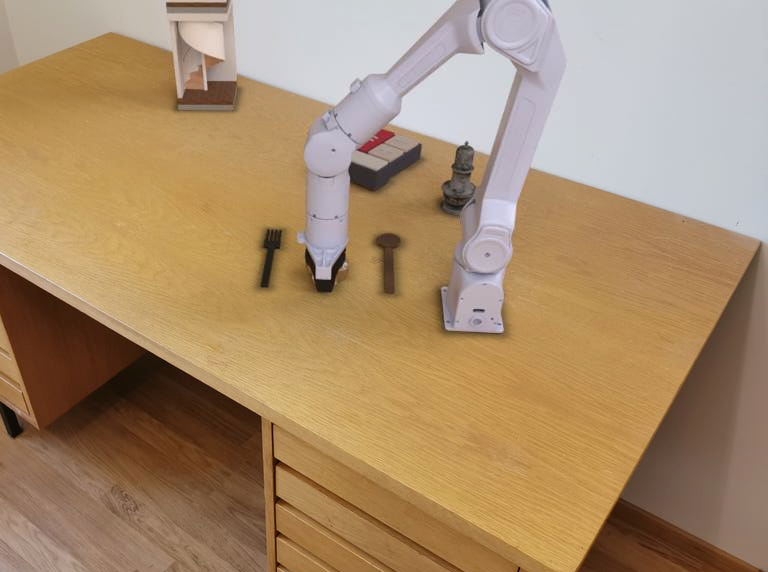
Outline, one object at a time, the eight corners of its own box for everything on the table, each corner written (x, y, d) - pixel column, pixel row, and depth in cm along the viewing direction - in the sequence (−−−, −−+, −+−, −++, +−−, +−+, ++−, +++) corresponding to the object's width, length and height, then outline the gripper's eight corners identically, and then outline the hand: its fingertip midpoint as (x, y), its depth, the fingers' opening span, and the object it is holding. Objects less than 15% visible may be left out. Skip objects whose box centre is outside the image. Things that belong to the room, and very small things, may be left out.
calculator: (423, 140, 136) (377, 168, 127) (420, 162, 139) (375, 191, 130) (373, 123, 141) (326, 149, 132) (371, 144, 144) (324, 172, 135)
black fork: (273, 287, 111) (273, 285, 110) (255, 287, 111) (255, 285, 111) (282, 231, 122) (282, 229, 121) (266, 230, 122) (266, 228, 121)
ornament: (314, 256, 116) (314, 237, 114) (356, 266, 114) (357, 246, 112) (295, 285, 111) (295, 265, 108) (338, 296, 109) (339, 276, 106)
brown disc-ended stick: (401, 293, 109) (402, 290, 109) (377, 292, 110) (377, 289, 109) (399, 236, 120) (400, 233, 120) (377, 235, 120) (377, 232, 120)
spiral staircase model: (178, 110, 154) (156, -82, 130) (185, 88, 162) (165, -97, 138) (233, 110, 154) (221, -82, 130) (237, 88, 162) (226, -97, 138)
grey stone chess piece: (473, 217, 124) (485, 151, 116) (437, 214, 125) (447, 148, 116) (474, 199, 128) (486, 133, 120) (439, 196, 129) (449, 131, 121)
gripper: (300, 179, 104) (300, 258, 114) (292, 238, 94) (293, 320, 103) (351, 180, 104) (347, 260, 113) (348, 240, 93) (344, 322, 103)
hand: (324, 289), depth 108 cm, fingers closed
